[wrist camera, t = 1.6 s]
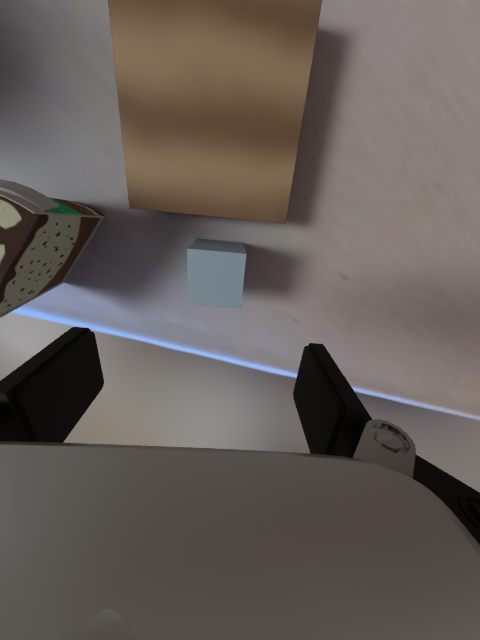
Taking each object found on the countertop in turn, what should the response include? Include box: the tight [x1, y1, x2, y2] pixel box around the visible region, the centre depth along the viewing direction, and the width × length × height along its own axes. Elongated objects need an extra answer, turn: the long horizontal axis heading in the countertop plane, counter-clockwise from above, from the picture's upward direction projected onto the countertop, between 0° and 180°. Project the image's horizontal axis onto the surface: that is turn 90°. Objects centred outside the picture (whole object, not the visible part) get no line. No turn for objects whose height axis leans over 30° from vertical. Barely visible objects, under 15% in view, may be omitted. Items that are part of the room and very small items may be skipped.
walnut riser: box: [108, 0, 322, 223], centre depth 20 cm, size 14×14×3 cm
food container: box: [0, 179, 105, 317], centre depth 20 cm, size 12×6×10 cm, turn 137°
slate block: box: [187, 239, 246, 308], centre depth 24 cm, size 5×5×6 cm
